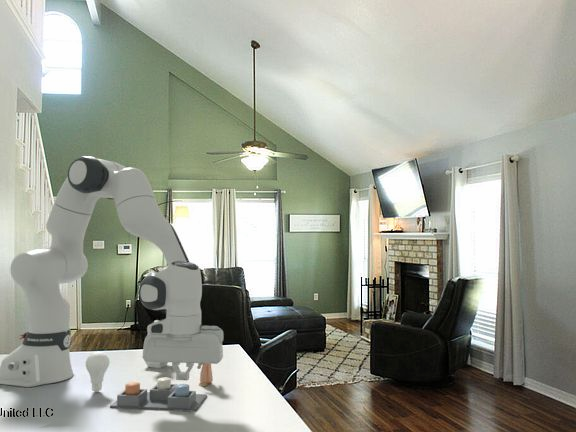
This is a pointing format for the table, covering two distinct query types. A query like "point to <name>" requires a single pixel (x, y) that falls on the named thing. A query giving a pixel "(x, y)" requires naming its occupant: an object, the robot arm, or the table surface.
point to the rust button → (132, 388)
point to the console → (159, 400)
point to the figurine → (155, 364)
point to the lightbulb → (97, 369)
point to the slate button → (182, 390)
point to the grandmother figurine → (205, 374)
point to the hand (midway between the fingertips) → (182, 379)
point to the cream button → (164, 383)
